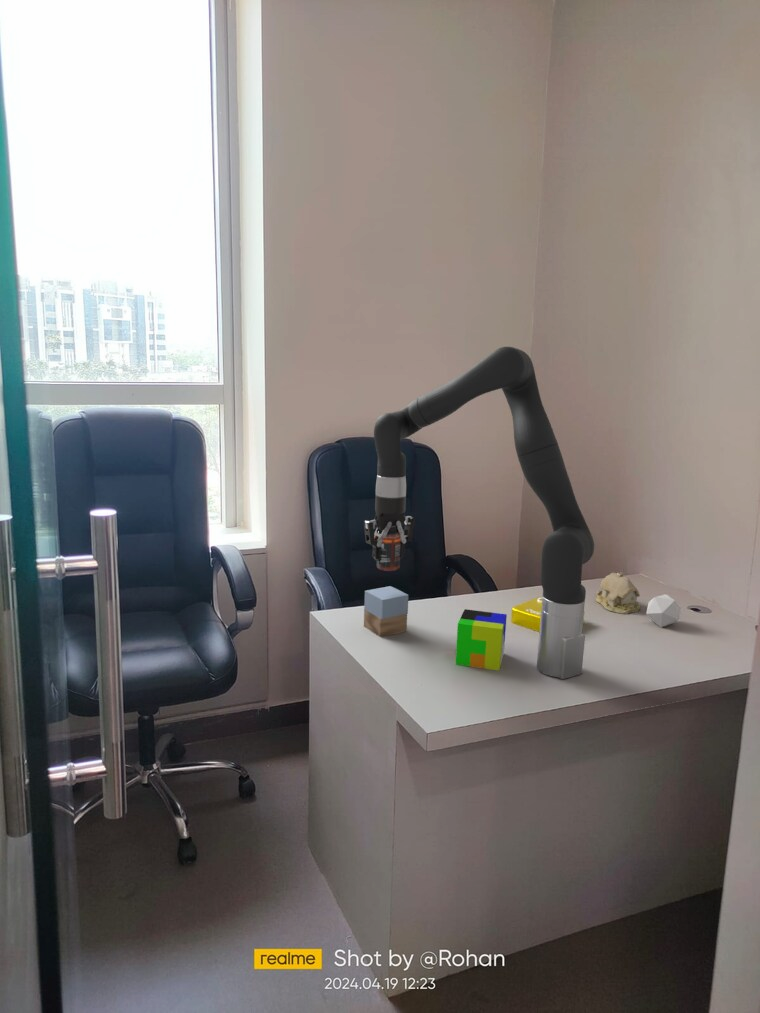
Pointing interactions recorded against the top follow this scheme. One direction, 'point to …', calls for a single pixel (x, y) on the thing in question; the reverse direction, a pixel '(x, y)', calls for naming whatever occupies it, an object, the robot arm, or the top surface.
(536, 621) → the element tile
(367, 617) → the tower base block
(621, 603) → the ceramic model
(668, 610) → the die
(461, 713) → the top surface
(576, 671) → the robot arm
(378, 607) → the tower top block
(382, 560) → the supplement bottle
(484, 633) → the puzzle toy
